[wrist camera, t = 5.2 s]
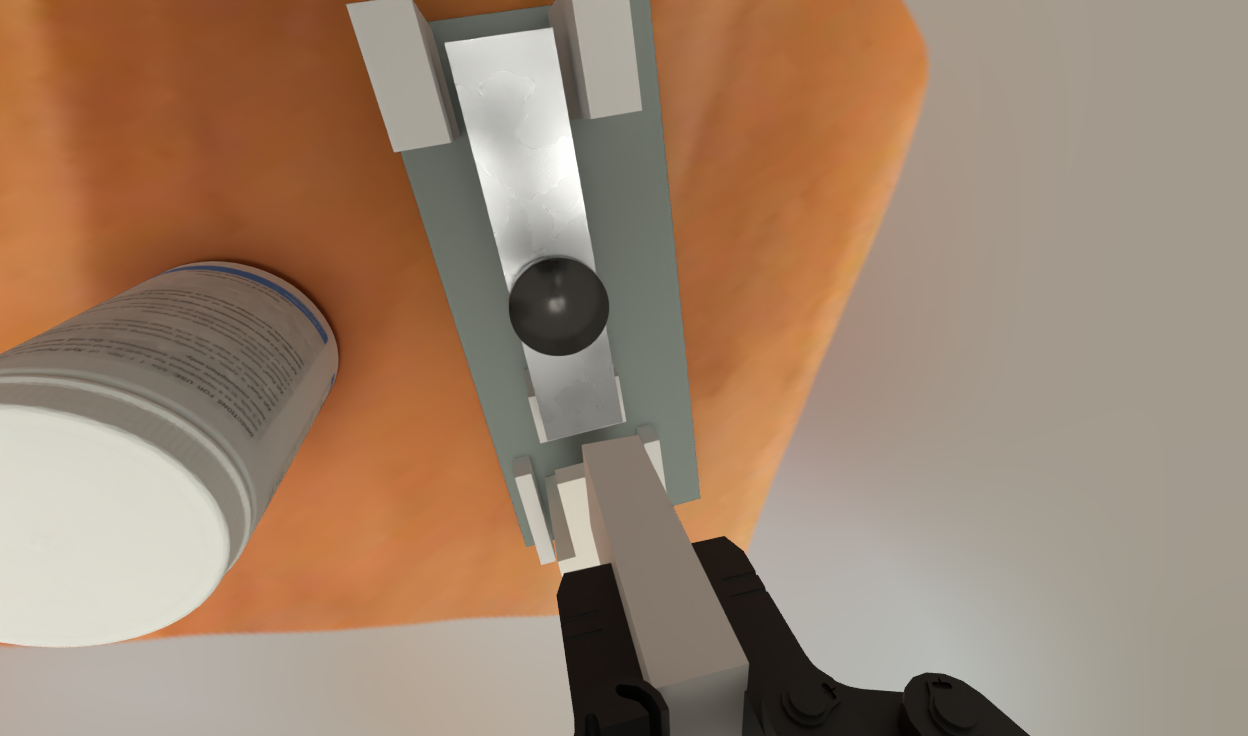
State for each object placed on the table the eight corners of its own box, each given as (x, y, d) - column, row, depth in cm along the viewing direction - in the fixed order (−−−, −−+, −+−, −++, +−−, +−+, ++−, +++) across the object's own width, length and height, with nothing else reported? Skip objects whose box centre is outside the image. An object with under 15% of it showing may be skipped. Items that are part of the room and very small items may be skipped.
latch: (527, 414, 32) (537, 489, 26) (621, 391, 33) (653, 458, 26) (556, 522, 36) (572, 611, 30) (639, 499, 37) (672, 581, 31)
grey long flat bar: (442, 49, 20) (436, 39, 18) (553, 33, 21) (561, 21, 19) (541, 428, 28) (545, 452, 26) (620, 408, 28) (631, 430, 26)
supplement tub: (102, 264, 25) (-312, 419, 12) (317, 250, 27) (157, 371, 14) (180, 434, 29) (-65, 685, 16) (362, 412, 31) (271, 621, 18)
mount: (367, 34, 24) (312, -4, 16) (642, -4, 25) (704, -53, 18) (525, 535, 38) (534, 636, 30) (694, 488, 40) (741, 572, 32)
